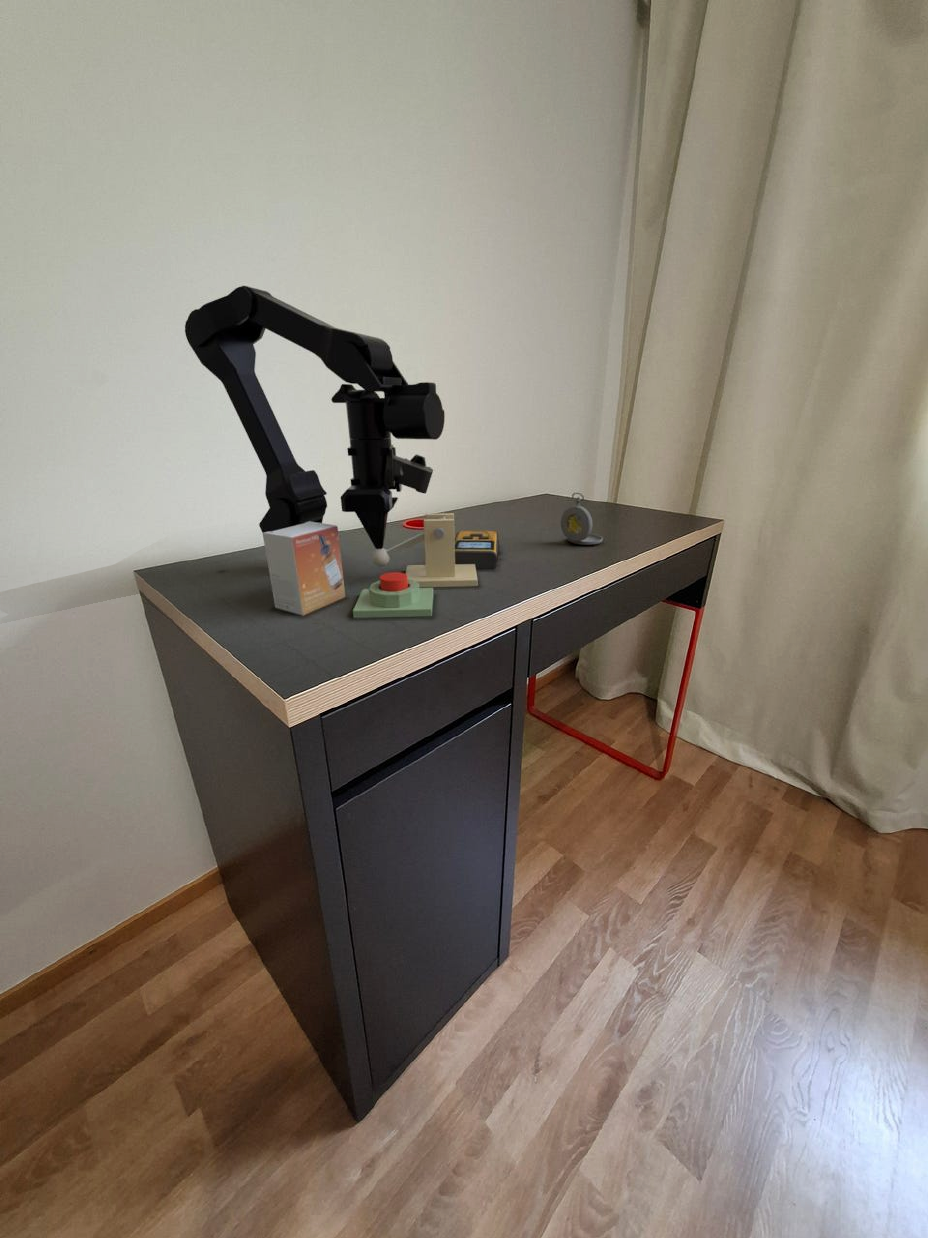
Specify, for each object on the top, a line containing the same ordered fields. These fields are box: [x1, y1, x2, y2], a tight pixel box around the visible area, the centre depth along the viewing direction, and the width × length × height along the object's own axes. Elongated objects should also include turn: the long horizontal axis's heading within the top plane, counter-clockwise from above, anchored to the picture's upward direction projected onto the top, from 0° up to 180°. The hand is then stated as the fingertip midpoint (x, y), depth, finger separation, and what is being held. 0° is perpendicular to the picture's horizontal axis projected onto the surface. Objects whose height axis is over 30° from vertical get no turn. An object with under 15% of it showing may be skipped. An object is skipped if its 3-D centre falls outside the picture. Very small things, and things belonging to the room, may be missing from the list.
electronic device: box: [454, 530, 500, 570], centre depth 87 cm, size 8×16×3 cm, turn 176°
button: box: [379, 571, 408, 592], centre depth 65 cm, size 4×4×2 cm
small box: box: [262, 521, 346, 616], centre depth 65 cm, size 8×6×10 cm
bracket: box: [405, 512, 479, 588], centre depth 74 cm, size 11×8×10 cm
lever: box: [371, 517, 446, 567], centre depth 74 cm, size 13×3×3 cm, turn 93°
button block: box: [352, 579, 434, 619], centre depth 65 cm, size 10×8×3 cm
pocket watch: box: [560, 492, 604, 546], centre depth 93 cm, size 8×8×10 cm
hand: (379, 548), depth 74 cm, fingers closed, pressing on lever
